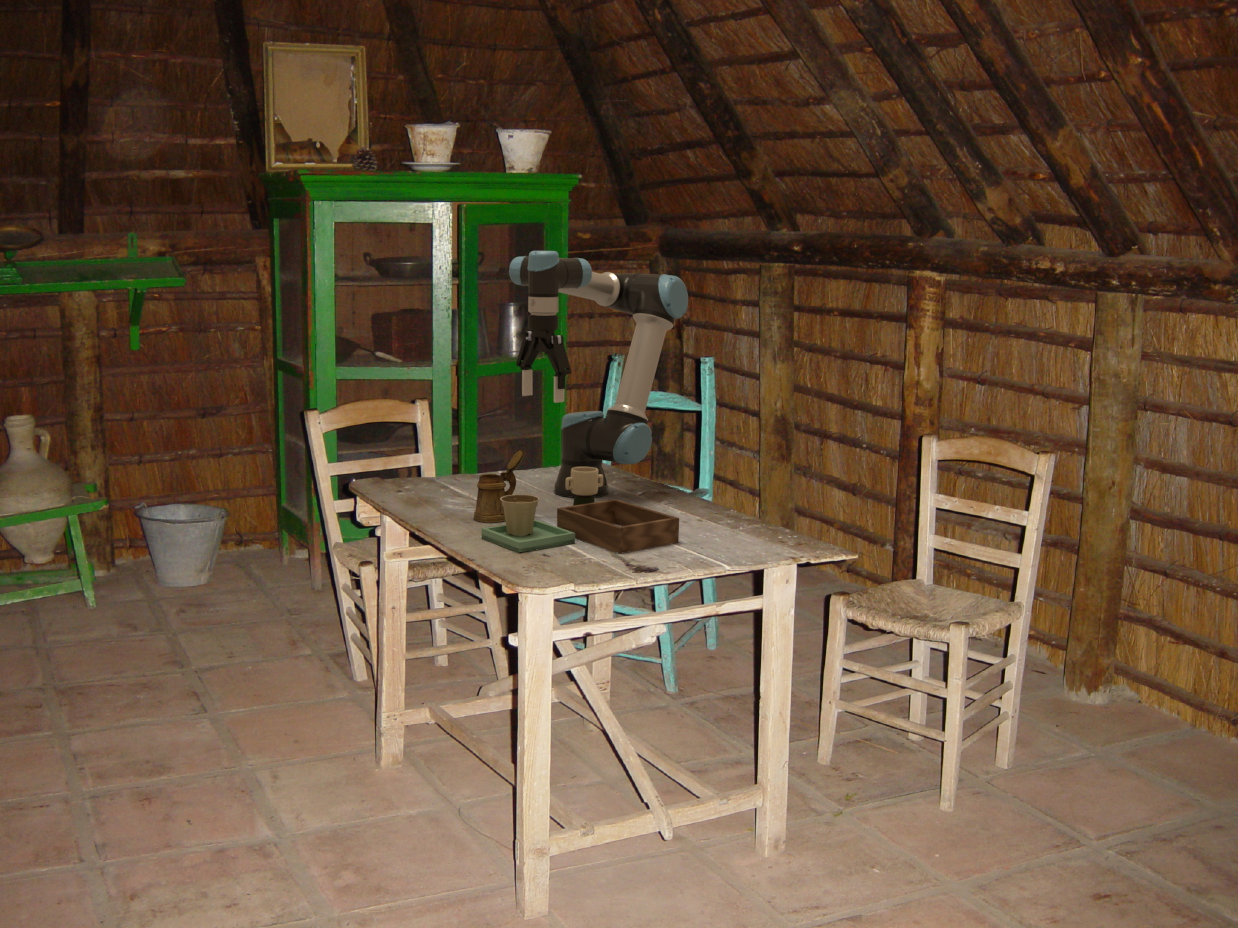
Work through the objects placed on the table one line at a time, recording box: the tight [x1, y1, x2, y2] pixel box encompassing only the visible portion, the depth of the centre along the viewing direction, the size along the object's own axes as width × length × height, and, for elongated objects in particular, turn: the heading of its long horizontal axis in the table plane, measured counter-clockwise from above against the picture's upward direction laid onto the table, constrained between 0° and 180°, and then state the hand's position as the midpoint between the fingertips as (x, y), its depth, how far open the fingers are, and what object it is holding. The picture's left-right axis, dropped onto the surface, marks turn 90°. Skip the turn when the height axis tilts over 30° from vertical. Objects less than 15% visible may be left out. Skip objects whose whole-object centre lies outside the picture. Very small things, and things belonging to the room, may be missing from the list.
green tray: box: [481, 519, 576, 553], centre depth 289 cm, size 16×16×2 cm
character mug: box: [565, 467, 603, 506], centre depth 312 cm, size 11×7×13 cm, turn 120°
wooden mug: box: [473, 447, 526, 524], centre depth 309 cm, size 9×14×18 cm, turn 112°
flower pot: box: [500, 494, 540, 536], centre depth 291 cm, size 9×9×9 cm
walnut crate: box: [556, 499, 680, 554], centre depth 294 cm, size 18×24×6 cm
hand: (542, 398), depth 304 cm, fingers open, 13 cm apart
